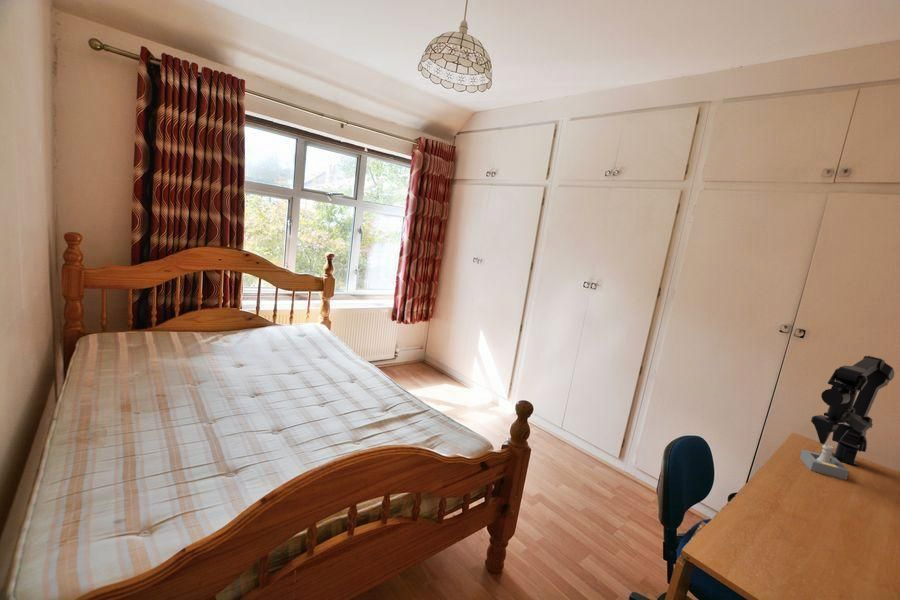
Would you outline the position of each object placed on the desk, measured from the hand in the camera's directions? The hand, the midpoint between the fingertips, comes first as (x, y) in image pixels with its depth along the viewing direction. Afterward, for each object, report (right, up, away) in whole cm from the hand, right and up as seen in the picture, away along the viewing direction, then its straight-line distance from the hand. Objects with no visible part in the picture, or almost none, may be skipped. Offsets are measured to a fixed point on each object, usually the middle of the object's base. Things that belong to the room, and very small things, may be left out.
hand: (829, 442), depth 145 cm
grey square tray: (-1, -10, +2) cm, 10 cm away
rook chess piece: (-1, -9, +2) cm, 10 cm away
